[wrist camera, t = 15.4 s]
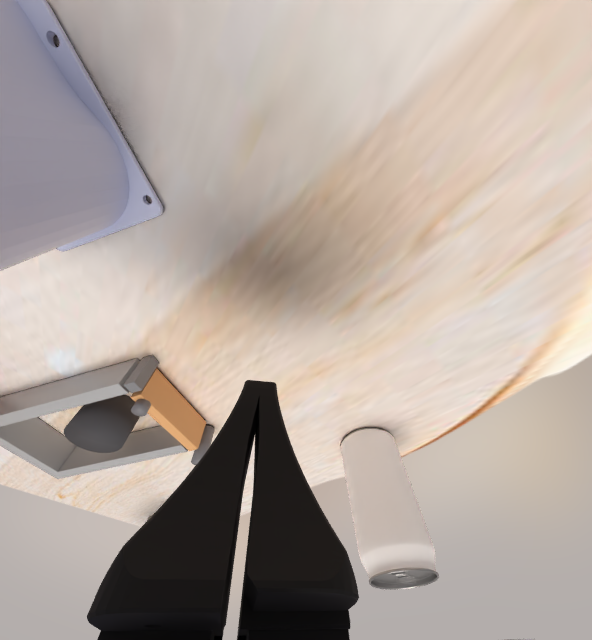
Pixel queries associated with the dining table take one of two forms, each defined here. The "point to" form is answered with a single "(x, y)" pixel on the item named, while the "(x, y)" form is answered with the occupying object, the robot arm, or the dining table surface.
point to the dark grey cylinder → (102, 425)
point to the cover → (173, 414)
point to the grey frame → (51, 446)
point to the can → (386, 513)
